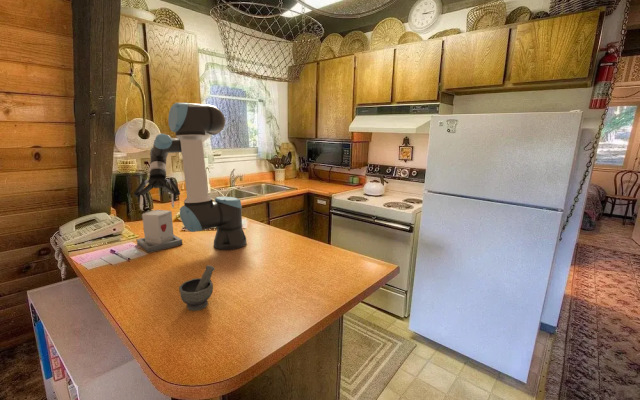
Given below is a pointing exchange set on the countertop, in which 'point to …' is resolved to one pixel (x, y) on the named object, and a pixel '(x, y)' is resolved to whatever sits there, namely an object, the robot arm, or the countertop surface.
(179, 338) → the countertop surface
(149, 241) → the supplement box
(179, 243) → the charcoal tray
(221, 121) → the robot arm
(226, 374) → the countertop surface
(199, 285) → the mortar and pestle
